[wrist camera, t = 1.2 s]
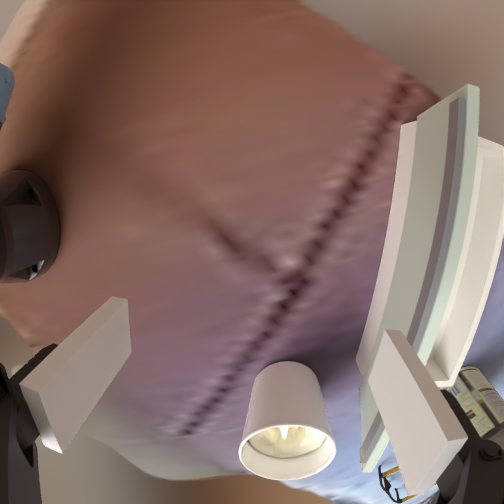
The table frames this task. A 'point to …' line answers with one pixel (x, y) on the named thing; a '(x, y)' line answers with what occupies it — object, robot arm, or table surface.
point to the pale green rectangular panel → (427, 242)
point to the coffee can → (480, 403)
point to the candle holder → (287, 424)
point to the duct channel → (469, 268)
